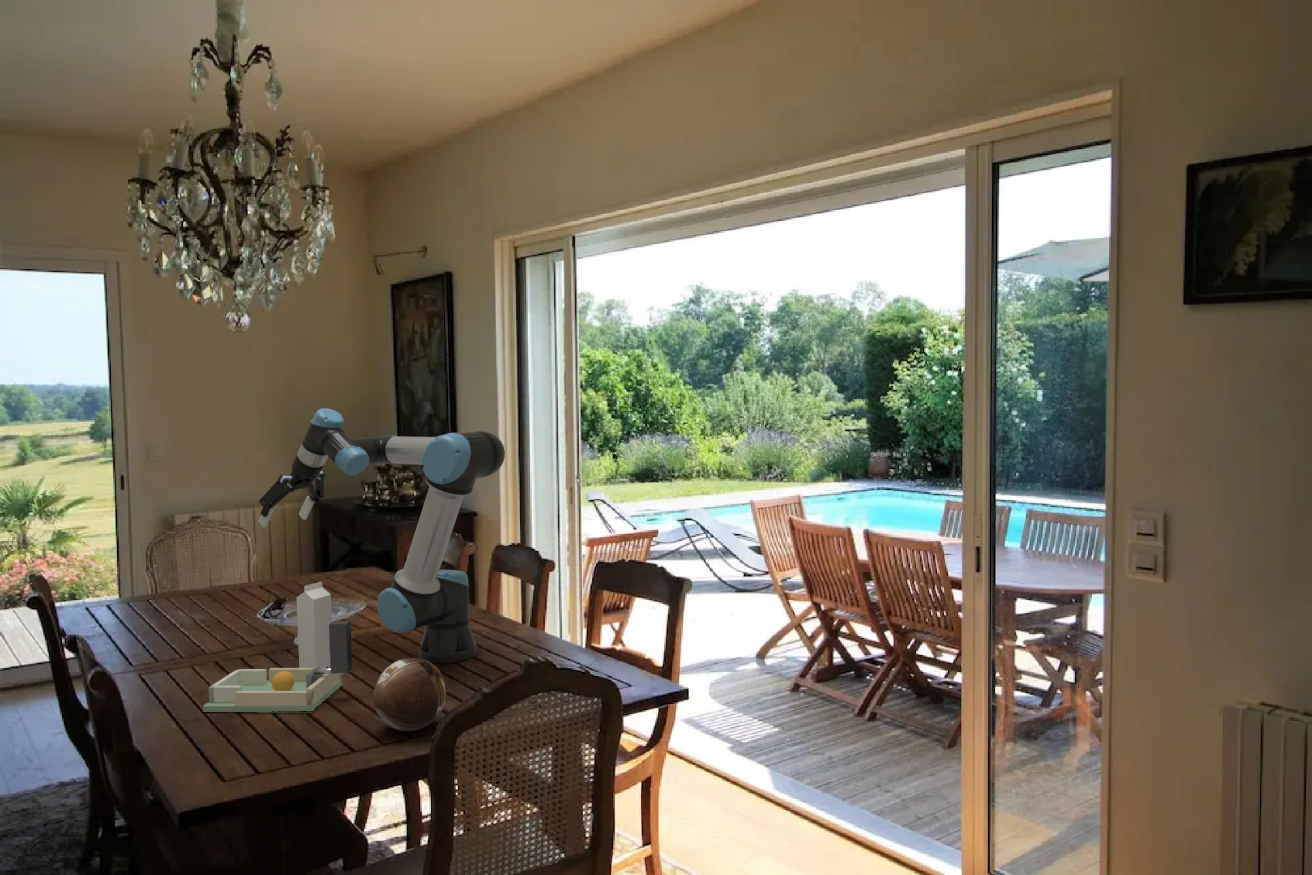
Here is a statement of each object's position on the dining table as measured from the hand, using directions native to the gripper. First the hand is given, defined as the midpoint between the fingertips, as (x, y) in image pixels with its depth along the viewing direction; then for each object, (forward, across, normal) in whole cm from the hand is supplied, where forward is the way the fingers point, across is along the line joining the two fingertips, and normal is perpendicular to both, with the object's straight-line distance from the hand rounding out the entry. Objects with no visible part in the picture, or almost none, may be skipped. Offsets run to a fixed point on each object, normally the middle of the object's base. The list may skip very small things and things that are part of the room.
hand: (282, 520), depth 260 cm
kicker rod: (+1, +27, +57) cm, 63 cm away
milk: (+16, +11, +40) cm, 44 cm away
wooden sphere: (-15, +33, +83) cm, 91 cm away
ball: (+5, +32, +47) cm, 57 cm away
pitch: (+9, +33, +48) cm, 59 cm away
